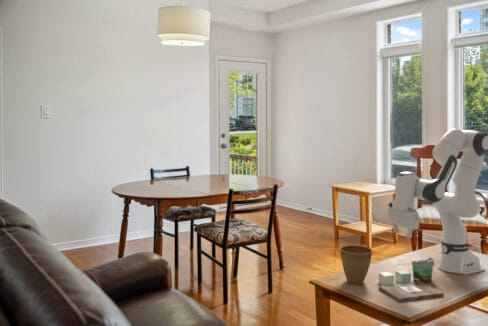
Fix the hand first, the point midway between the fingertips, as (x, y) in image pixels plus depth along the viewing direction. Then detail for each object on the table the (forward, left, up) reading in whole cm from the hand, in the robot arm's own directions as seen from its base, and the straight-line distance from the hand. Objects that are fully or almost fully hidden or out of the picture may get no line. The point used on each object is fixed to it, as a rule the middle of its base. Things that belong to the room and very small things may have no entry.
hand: (402, 235), depth 223 cm
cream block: (+9, +1, -23) cm, 24 cm away
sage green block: (0, +1, -23) cm, 23 cm away
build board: (+5, +14, -23) cm, 27 cm away
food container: (-11, +3, -23) cm, 26 cm away
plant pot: (+21, -6, -23) cm, 31 cm away
